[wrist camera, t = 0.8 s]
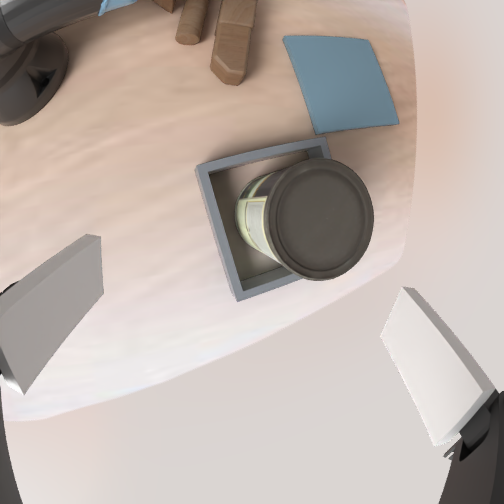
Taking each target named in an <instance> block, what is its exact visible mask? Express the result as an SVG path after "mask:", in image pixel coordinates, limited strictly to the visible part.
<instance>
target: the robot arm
mask: <svg viewBox="0 0 504 504" xmlns="http://www.w3.org/2000/svg"><path fill="white" fill-rule="evenodd" d="M136 1H137V0H0V125H4V126H13V125H17V124H20V123H22V122H24V121H26V120H28V119H29V118H31V117H32V116H34V115H35V114H36V113H37V112H38V111H40V110H41V109H42V108H43V107H44V106H45V105H46V104H47V102H48V101H49V100H50V99H51V98H52V96H53V95H54V93H55V92H56V90H57V89H58V87H59V86H60V84H61V82H62V80H63V78H64V75H65V72H66V69H67V65H68V50H67V47H66V45H65V44H64V42H63V41H62V39H61V38H60V37H59V36H58V35H57V34H56V33H54V31H56V30H58V29H61V28H63V27H66V26H68V25H71V24H73V23H76V22H79V21H82V20H85V19H88V18H91V17H94V16H97V15H98V16H101V15H103V14H104V13H105V12H108V11H111V10H114V9H117V8H120V7H124V6H127V5H130V4H133V3H135V2H136ZM103 294H104V289H103V276H102V258H101V237H100V236H95V235H89V234H86V235H84V236H83V237H81V238H79V239H78V240H76V241H75V242H73V243H72V244H70V245H69V246H67V247H66V248H64V249H63V250H61V251H60V252H59V253H57V254H56V255H54V256H53V257H51V258H50V259H48V260H47V261H46V262H44V263H43V264H41V265H40V266H39V267H37V268H36V269H35V270H33V271H32V272H31V273H29V274H28V275H27V276H25V277H24V278H23V279H21V280H20V281H17V282H15V283H13V284H11V285H10V286H9V287H7V288H6V289H5V290H4V291H3V293H2V292H1V293H0V375H1V373H2V375H3V377H4V379H5V381H6V383H7V384H8V386H9V387H11V388H13V389H14V390H16V391H18V392H19V393H21V394H23V395H25V393H26V392H27V390H28V389H29V387H30V386H31V384H32V383H33V382H34V380H35V379H36V377H37V376H38V375H39V373H40V372H41V371H42V369H43V368H44V366H45V365H46V364H47V362H48V361H49V360H50V358H51V357H52V356H53V354H54V353H55V352H56V351H57V349H58V348H59V347H60V345H61V344H62V343H63V342H64V340H65V339H66V338H67V337H68V335H69V334H70V333H71V332H72V330H73V329H74V328H75V327H76V325H77V324H78V323H79V322H80V321H81V319H82V318H83V317H84V316H85V315H86V313H87V312H88V311H89V310H90V309H91V308H92V306H93V305H94V304H95V303H96V302H97V301H98V299H99V298H100V297H101V296H102V295H103ZM380 337H381V339H382V341H383V343H384V345H385V347H386V348H387V350H388V352H389V354H390V355H391V358H392V359H393V361H394V364H395V365H396V367H397V369H398V371H399V373H400V375H401V377H402V379H403V381H404V383H405V385H406V387H407V389H408V391H409V393H410V395H411V397H412V399H413V401H414V403H415V405H416V407H417V410H418V412H419V414H420V416H421V418H422V420H423V423H424V425H425V427H426V429H427V431H428V434H429V435H430V438H431V440H432V443H433V445H434V447H435V446H438V445H442V444H445V443H448V442H450V441H451V440H452V439H453V438H454V436H456V435H457V434H458V433H459V432H460V434H461V436H462V437H461V438H460V439H459V440H458V441H457V442H456V443H455V444H454V445H453V446H452V447H451V448H450V449H449V450H448V451H447V452H446V453H445V454H444V457H447V456H448V455H449V454H450V453H451V452H454V454H453V455H452V456H451V457H449V459H450V460H452V462H451V466H450V470H449V473H448V477H447V480H446V483H445V487H444V490H443V493H442V495H441V498H440V501H439V504H504V391H502V392H501V393H500V394H499V393H498V391H497V390H496V389H495V387H494V385H493V384H492V382H491V381H490V380H489V378H488V377H487V375H486V374H485V373H484V371H483V370H482V369H481V367H480V366H479V365H478V363H477V362H476V361H475V360H474V358H473V357H472V355H471V354H470V353H469V352H468V351H467V349H466V348H465V347H464V345H463V344H462V343H461V342H460V340H459V339H458V338H457V337H456V335H454V333H453V332H452V331H451V329H450V328H449V327H448V326H447V325H446V323H445V322H444V321H443V320H442V319H441V318H440V317H439V315H438V314H437V313H436V312H435V311H434V310H433V309H432V307H431V306H430V305H429V304H428V303H427V302H426V301H425V299H424V298H423V297H422V296H421V295H420V294H419V293H418V292H417V291H416V290H415V289H414V288H408V287H401V289H400V292H399V295H398V297H397V299H396V302H395V304H394V306H393V309H392V311H391V313H390V315H389V318H388V320H387V322H386V324H385V326H384V329H383V331H382V333H381V335H380ZM0 504H23V503H22V500H21V498H20V494H19V491H18V488H17V484H16V481H15V478H14V473H13V470H12V466H11V461H10V457H9V452H8V447H7V441H6V436H5V429H4V421H3V413H2V402H1V388H0Z"/></svg>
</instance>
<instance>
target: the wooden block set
mask: <svg viewBox="0 0 504 504" xmlns="http://www.w3.org/2000/svg"><path fill="white" fill-rule="evenodd" d="M152 1H154V2H155V3H157V4H158V5H159V6H161V7H162V8H164V9H165V10H166V11H168V12H170V13H172V12H173V9H174V6H175V3H176V0H152ZM208 3H209V0H186V2H185V6H184V9H183V12H182V15H181V19H180V22H179V26H178V30H177V33H176V37H175V39H176V41H177V42H178V43H180V44H183V45H194V44H196V43H198V42H199V40H200V37H201V32H202V28H203V23H204V19H205V15H206V11H207V7H208ZM256 6H257V0H222V3H221V7H220V12H219V16H218V21H217V26H216V31H215V42H214V48H213V53H212V59H211V65H210V68H211V70H212V71H213V73H214V74H215V75H216V76H217V77H218V78H219V79H220V80H221V81H222V82H223V83H225V84H229V85H236V86H238V85H239V84H240V83H241V81H242V80H243V78H244V76H245V74H246V70H247V61H248V53H249V45H250V37H251V31H252V29H253V27H254V21H255V13H256Z"/></svg>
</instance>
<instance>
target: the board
mask: <svg viewBox="0 0 504 504" xmlns="http://www.w3.org/2000/svg"><path fill="white" fill-rule="evenodd" d="M283 42H284V44H285V47H286V49H287V52H288V54H289V57H290V60H291V62H292V65H293V68H294V70H295V73H296V76H297V79H298V82H299V84H300V87H301V90H302V93H303V96H304V99H305V102H306V105H307V108H308V111H309V114H310V118H311V121H312V124H313V127H314V131H315V134H316V135H317V134H323V133H329V132H336V131H343V130H351V129H359V128H367V127H377V126H387V125H396V124H399V120H398V117H397V114H396V111H395V108H394V105H393V101H392V99H391V96H390V93H389V90H388V87H387V84H386V82H385V79H384V76H383V74H382V71H381V69H380V66H379V64H378V61H377V59H376V56H375V54H374V52H373V50H372V47H371V45H370V43H369V41H368V40H364V39H355V38H345V37H330V36H284V38H283Z"/></svg>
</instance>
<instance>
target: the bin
mask: <svg viewBox="0 0 504 504" xmlns="http://www.w3.org/2000/svg"><path fill="white" fill-rule="evenodd" d="M303 151H307V152H308V156H309V159H313V158H327V159H331V155H330V151H329V148H328V144H327V141H326V137H320V138H314V139H308V140H303V141H297V142H292V143H287V144H282V145H277V146H273V147H268V148H263V149H259V150H255V151H250V152H246V153H242V154H238V155H234V156H230V157H226V158H222V159H218V160H215V161H211V162H207V163H204V164H200V165H197V166H196V168H195V173H196V177H197V180H198V184H199V187H200V191H201V194H202V198H203V201H204V204H205V208H206V211H207V215H208V218H209V221H210V225H211V228H212V231H213V235H214V238H215V241H216V245H217V248H218V251H219V254H220V258H221V261H222V264H223V267H224V271H225V274H226V277H227V280H228V283H229V286H230V289H231V292H232V294H233V296H234V297H235V299H236V301H237V302H239V301H242V300H245V299H248V298H251V297H253V296H256V295H259V294H262V293H265V292H267V291H270V290H273V289H276V288H278V287H281V286H284V285H287V284H289V283H292V282H295V281H297V280H300V279H303V278H301V277H299V276H297V275H295V274H293V273H292V272H290V271H289V270H287V269H286V268H285V267H284V266H283V267H280V268H277V269H274V270H272V271H269V272H266V273H263V274H260V275H257V276H254V277H251V278H249V279H246V280H243V281H240V280H239V277H238V273H237V270H236V267H235V263H234V260H233V257H232V253H231V250H230V247H229V243H228V240H227V237H226V233H225V230H224V226H223V223H222V220H221V216H220V213H219V209H218V206H217V202H216V199H215V195H214V192H213V189H212V185H211V182H210V178H209V174H212V173H216V172H220V171H223V170H227V169H231V168H235V167H238V166H242V165H246V164H250V163H254V162H258V161H263V160H267V159H271V158H276V157H280V156H285V155H289V154H294V153H299V152H303Z"/></svg>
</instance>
